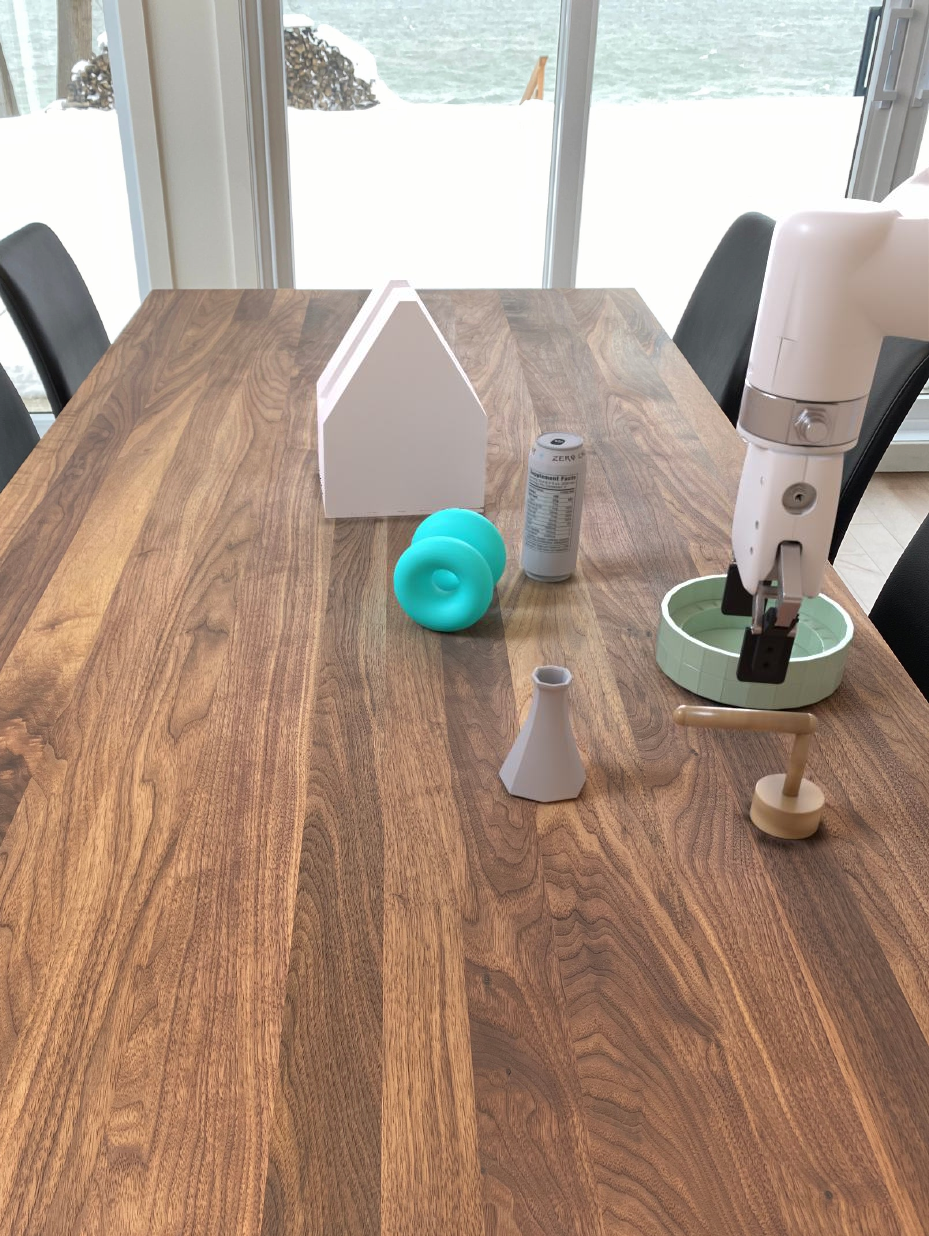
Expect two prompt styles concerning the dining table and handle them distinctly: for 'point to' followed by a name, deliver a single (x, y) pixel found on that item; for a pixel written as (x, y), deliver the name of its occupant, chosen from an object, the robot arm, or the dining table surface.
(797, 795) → the wooden hook stand
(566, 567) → the energy drink can
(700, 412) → the dining table surface
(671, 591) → the bowl
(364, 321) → the milk carton
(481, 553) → the turquoise spool
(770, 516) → the robot arm
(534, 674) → the flask
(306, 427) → the dining table surface
